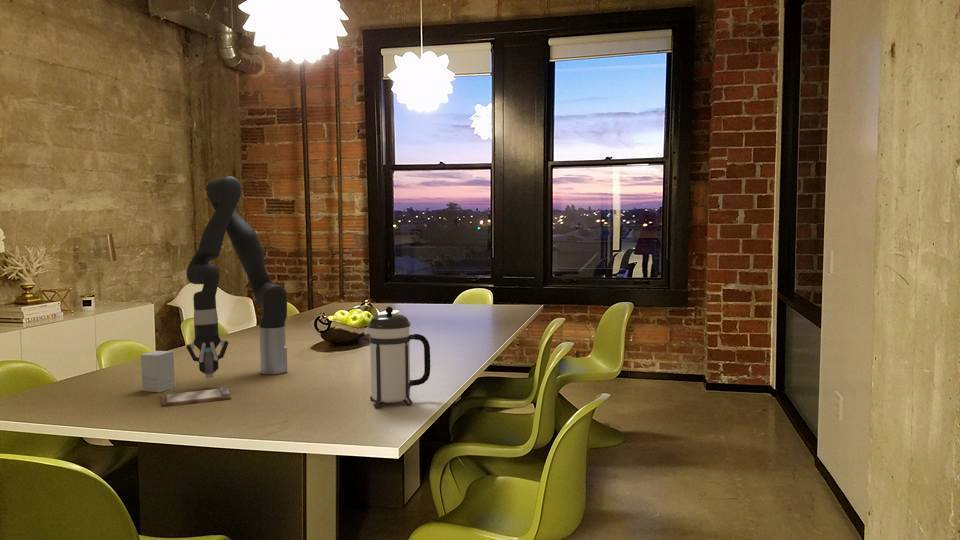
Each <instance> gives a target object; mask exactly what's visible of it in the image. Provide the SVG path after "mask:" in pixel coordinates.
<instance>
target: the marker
mask: <svg viewBox="0 0 960 540" xmlns="http://www.w3.org/2000/svg"><path fill="white" fill-rule="evenodd" d="M203 362H204V373H203V374H204V375H205V379H211V378H214V373H215V372H214V357H213V353H212V349H211V347H207V348H205V351H204V357H203Z"/></svg>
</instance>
